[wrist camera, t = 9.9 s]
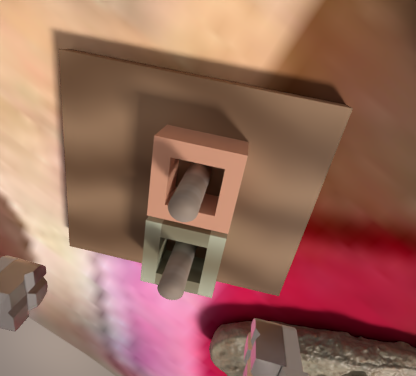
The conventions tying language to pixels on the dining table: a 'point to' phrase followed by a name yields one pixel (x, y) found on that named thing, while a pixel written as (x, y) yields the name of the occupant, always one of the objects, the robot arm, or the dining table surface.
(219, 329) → the long grey stone
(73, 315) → the dining table surface
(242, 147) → the chunky salmon square frame
